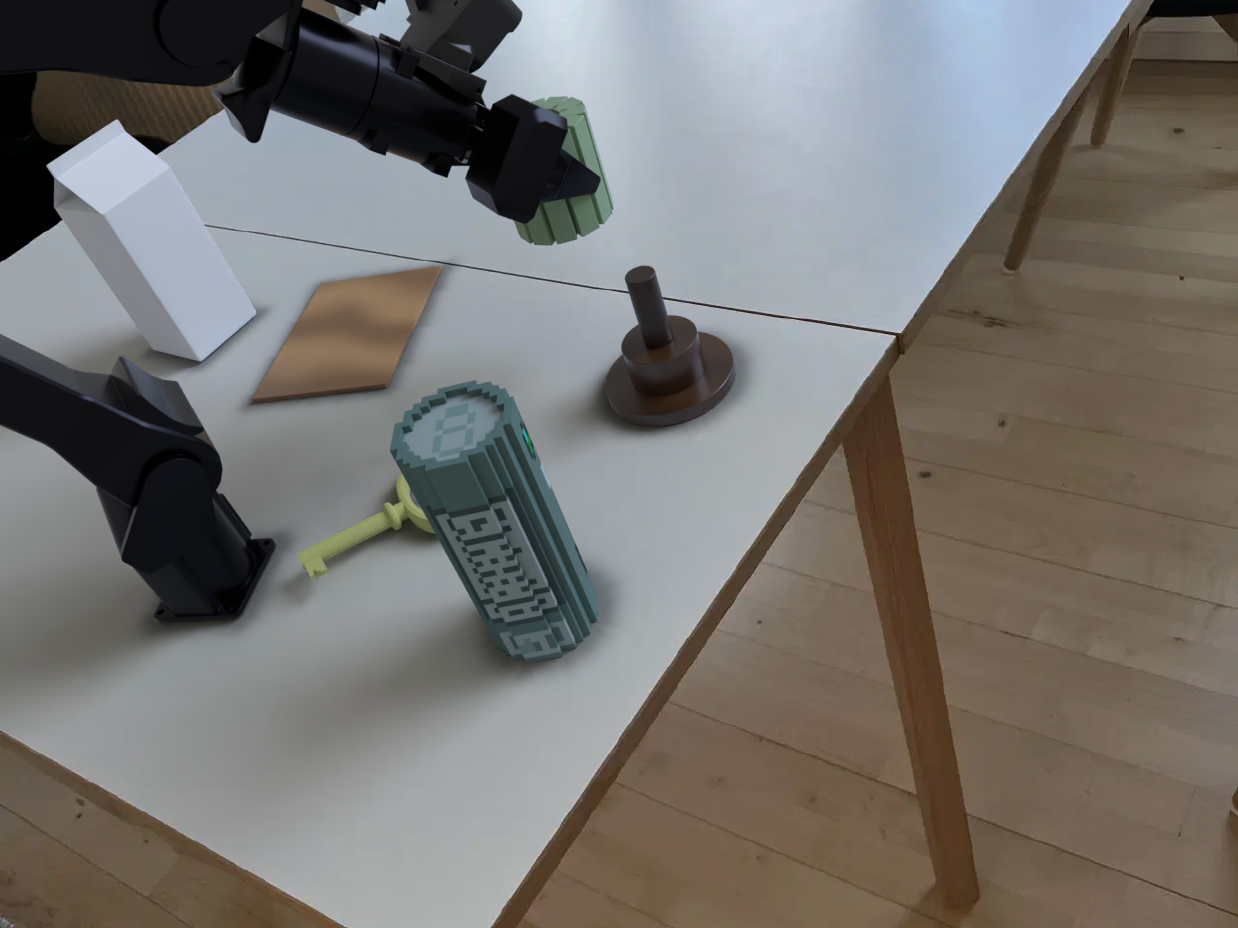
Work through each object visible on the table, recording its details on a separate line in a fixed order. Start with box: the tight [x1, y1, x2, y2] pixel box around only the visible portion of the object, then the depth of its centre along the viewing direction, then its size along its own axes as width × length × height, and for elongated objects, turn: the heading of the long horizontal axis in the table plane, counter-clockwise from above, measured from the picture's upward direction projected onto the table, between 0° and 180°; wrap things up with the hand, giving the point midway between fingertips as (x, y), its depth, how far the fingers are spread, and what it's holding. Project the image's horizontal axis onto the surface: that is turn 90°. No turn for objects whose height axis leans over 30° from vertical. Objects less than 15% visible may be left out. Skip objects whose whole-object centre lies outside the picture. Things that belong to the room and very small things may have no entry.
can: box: [389, 379, 598, 664], centre depth 56 cm, size 6×6×15 cm
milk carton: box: [46, 119, 257, 362], centre depth 90 cm, size 7×7×19 cm
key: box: [296, 472, 436, 582], centre depth 69 cm, size 7×12×2 cm, turn 139°
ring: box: [513, 95, 615, 247], centre depth 69 cm, size 7×7×7 cm
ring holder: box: [604, 265, 737, 427], centre depth 71 cm, size 9×9×9 cm
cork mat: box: [251, 265, 443, 404], centre depth 89 cm, size 16×12×1 cm
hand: (570, 171), depth 70 cm, fingers closed on ring, 6 cm apart
